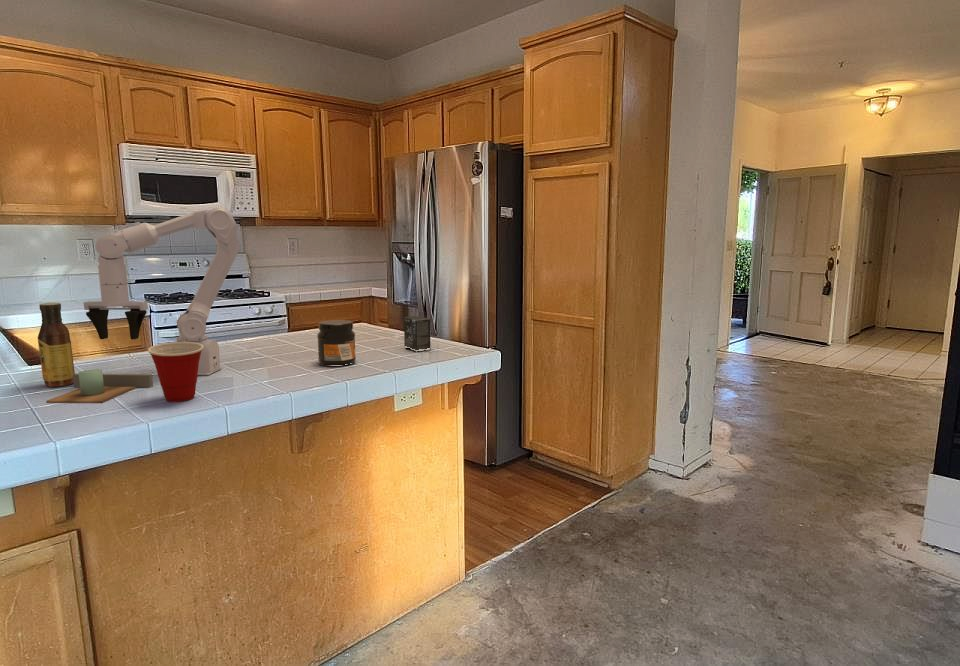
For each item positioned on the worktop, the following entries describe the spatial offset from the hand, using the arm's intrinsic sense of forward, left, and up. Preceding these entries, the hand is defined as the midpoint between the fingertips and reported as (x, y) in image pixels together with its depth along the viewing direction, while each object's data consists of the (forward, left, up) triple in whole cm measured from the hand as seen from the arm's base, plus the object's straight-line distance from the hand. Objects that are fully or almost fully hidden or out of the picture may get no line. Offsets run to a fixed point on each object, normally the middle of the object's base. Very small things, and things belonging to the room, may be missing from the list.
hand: (119, 338), depth 140 cm
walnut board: (-2, +15, -10) cm, 18 cm away
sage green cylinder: (-2, +14, -10) cm, 18 cm away
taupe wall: (-2, +7, -10) cm, 13 cm away
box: (-70, -41, -11) cm, 82 cm away
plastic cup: (-23, +17, -11) cm, 31 cm away
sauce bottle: (+12, +6, -11) cm, 17 cm away
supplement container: (-49, -20, -11) cm, 54 cm away
